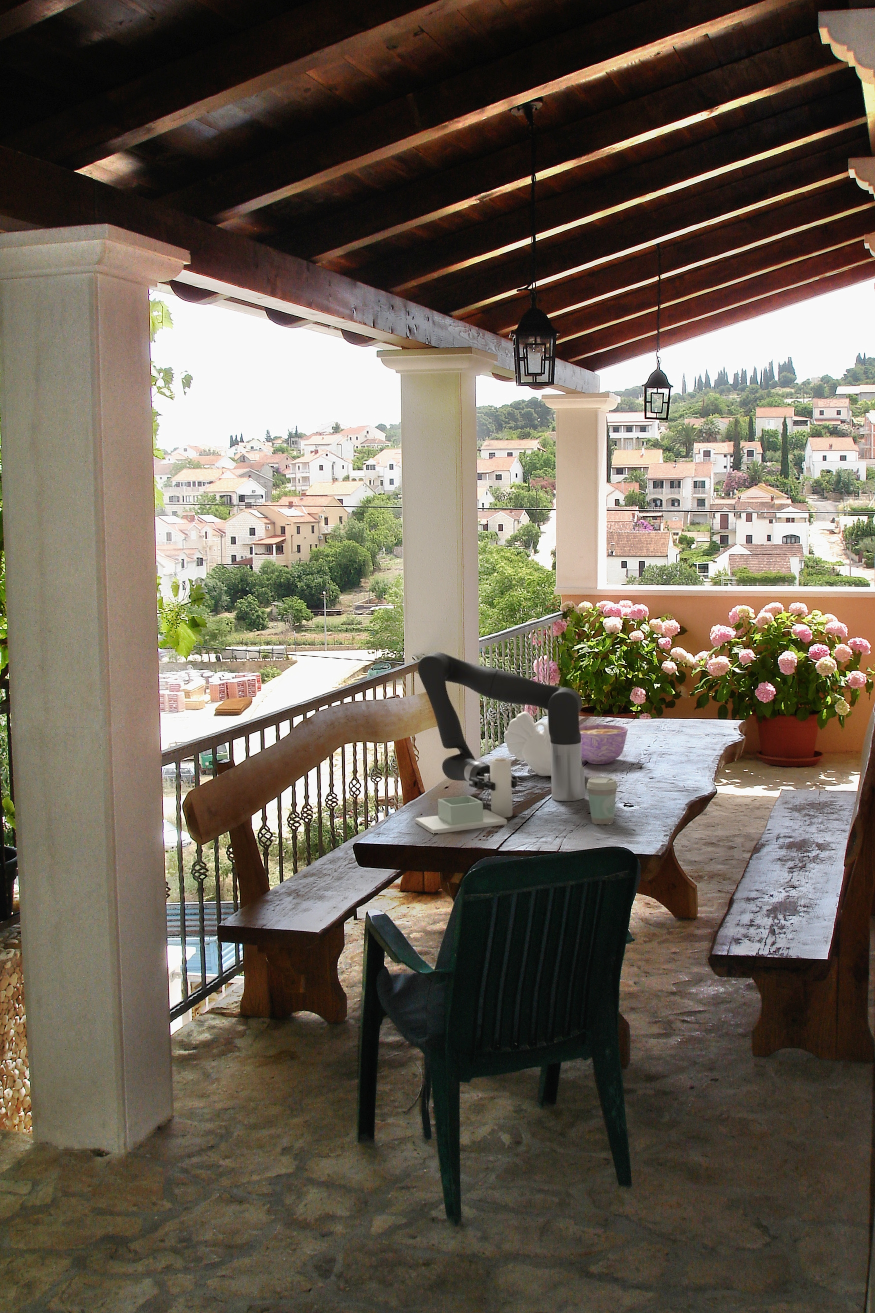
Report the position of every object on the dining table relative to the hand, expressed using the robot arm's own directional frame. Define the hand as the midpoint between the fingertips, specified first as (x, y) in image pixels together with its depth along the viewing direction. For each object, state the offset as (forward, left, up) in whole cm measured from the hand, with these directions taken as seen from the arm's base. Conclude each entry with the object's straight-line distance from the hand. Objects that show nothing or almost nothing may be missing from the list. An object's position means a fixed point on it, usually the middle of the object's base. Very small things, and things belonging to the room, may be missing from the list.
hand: (504, 785), depth 317 cm
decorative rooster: (-36, -46, -9) cm, 59 cm away
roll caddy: (+14, +1, -9) cm, 17 cm away
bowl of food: (-62, -54, -9) cm, 83 cm away
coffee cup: (-21, +19, -9) cm, 29 cm away
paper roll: (0, -2, -9) cm, 9 cm away
